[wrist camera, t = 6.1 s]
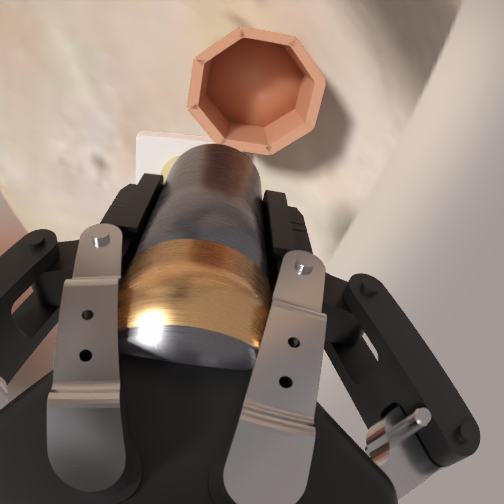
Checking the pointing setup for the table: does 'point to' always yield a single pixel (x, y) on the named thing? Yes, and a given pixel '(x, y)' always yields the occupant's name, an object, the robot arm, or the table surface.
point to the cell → (200, 266)
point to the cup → (255, 90)
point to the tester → (162, 151)
